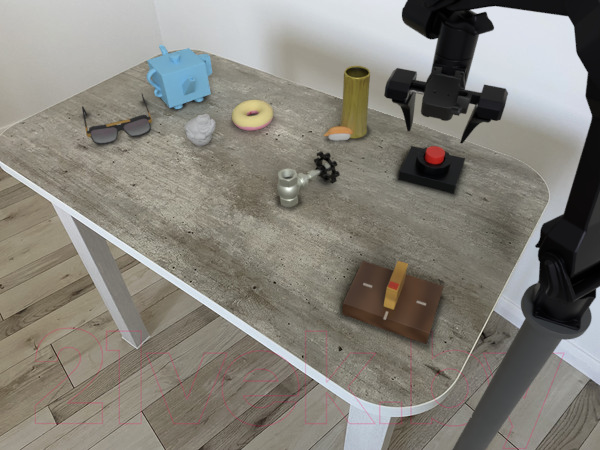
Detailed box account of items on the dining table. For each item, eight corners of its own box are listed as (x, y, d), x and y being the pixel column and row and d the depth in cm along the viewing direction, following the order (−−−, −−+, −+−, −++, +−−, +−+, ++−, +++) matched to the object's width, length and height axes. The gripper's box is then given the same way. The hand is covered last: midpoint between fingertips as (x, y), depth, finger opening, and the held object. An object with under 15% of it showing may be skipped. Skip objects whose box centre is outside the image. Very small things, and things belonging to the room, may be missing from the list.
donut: (277, 121, 115) (242, 109, 116) (280, 103, 112) (244, 91, 113) (261, 139, 107) (223, 126, 108) (264, 120, 104) (225, 107, 106)
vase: (344, 121, 110) (347, 62, 100) (370, 126, 109) (375, 67, 99) (336, 135, 106) (338, 76, 96) (362, 141, 105) (367, 81, 95)
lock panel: (440, 295, 76) (444, 283, 74) (425, 346, 70) (429, 334, 67) (362, 270, 80) (363, 258, 77) (341, 316, 74) (342, 304, 71)
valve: (291, 215, 89) (339, 187, 94) (289, 188, 84) (340, 160, 90) (270, 196, 93) (317, 171, 98) (267, 170, 88) (317, 144, 93)
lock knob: (394, 279, 74) (397, 259, 71) (404, 282, 74) (408, 262, 71) (383, 306, 71) (386, 286, 68) (393, 310, 71) (397, 290, 67)
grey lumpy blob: (216, 152, 103) (211, 125, 98) (184, 151, 104) (177, 124, 99) (221, 136, 107) (217, 108, 102) (191, 135, 108) (185, 107, 103)
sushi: (353, 141, 105) (354, 129, 103) (324, 142, 105) (324, 131, 103) (351, 134, 107) (352, 122, 105) (323, 135, 107) (323, 124, 104)
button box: (463, 166, 98) (467, 150, 95) (453, 194, 92) (458, 178, 89) (409, 154, 101) (412, 138, 98) (397, 179, 96) (400, 163, 93)
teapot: (168, 123, 111) (156, 79, 103) (140, 90, 122) (128, 47, 114) (229, 102, 117) (222, 58, 109) (198, 72, 128) (190, 30, 120)
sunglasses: (144, 101, 118) (139, 83, 115) (156, 134, 108) (150, 115, 105) (85, 114, 115) (78, 96, 111) (92, 150, 105) (84, 130, 101)
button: (445, 155, 95) (447, 148, 94) (441, 166, 92) (442, 159, 91) (427, 151, 96) (428, 144, 95) (422, 161, 94) (424, 154, 92)
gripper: (379, 64, 71) (370, 150, 82) (512, 90, 65) (482, 177, 77) (399, 32, 78) (388, 115, 89) (521, 53, 72) (492, 138, 84)
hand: (435, 136), depth 84 cm, fingers open, 9 cm apart
